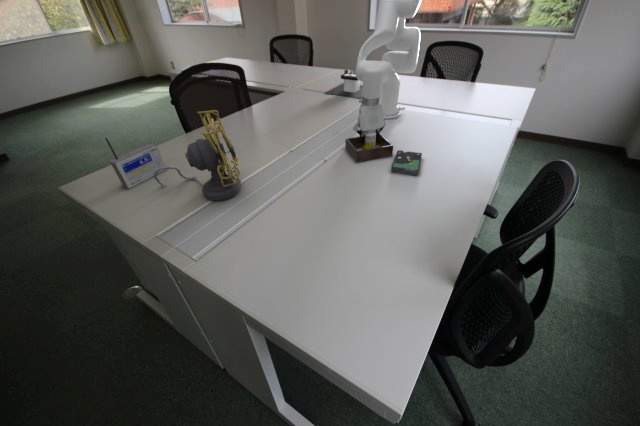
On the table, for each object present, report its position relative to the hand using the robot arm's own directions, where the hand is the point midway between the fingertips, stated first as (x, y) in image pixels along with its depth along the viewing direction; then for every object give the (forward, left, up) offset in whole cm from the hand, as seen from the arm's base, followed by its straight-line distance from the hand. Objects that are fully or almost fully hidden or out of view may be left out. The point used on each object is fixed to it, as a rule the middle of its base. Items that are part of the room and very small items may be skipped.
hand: (369, 142), depth 128 cm
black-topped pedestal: (-26, -89, -5) cm, 92 cm away
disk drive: (-10, +16, -5) cm, 20 cm away
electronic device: (+95, -13, -5) cm, 96 cm away
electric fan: (+71, +9, -5) cm, 72 cm away
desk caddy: (0, 0, -5) cm, 5 cm away
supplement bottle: (0, 0, -4) cm, 4 cm away
